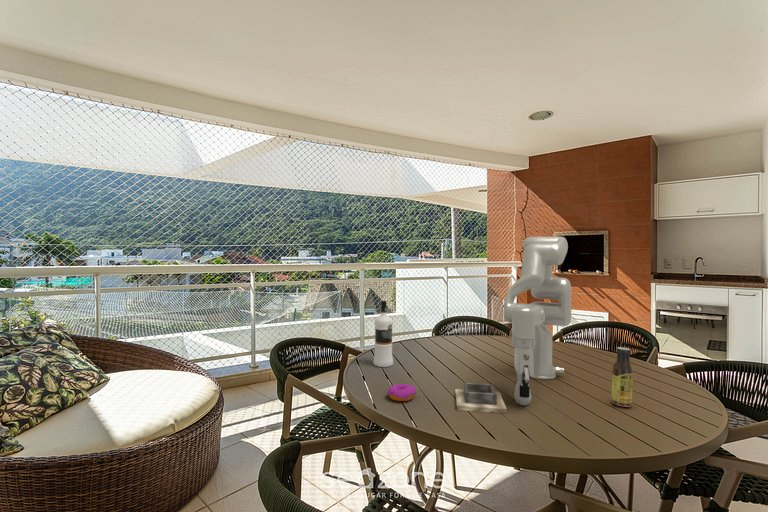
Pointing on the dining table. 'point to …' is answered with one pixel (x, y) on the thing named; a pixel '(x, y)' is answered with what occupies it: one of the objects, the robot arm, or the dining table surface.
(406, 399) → the donut
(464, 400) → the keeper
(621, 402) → the sauce bottle
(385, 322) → the vodka
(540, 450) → the dining table surface
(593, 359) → the dining table surface
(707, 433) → the dining table surface
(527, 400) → the salt shaker
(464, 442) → the dining table surface
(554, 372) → the robot arm
